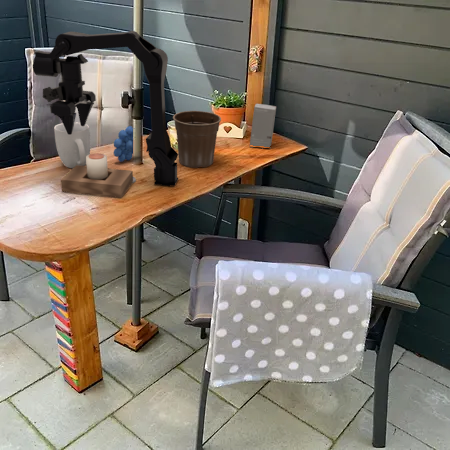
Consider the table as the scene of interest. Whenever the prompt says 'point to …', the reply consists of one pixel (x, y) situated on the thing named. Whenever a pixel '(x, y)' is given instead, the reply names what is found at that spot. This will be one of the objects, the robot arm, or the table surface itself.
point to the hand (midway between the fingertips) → (76, 130)
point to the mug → (73, 144)
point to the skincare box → (262, 125)
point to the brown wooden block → (97, 182)
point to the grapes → (124, 144)
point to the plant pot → (196, 137)
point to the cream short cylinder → (97, 166)
